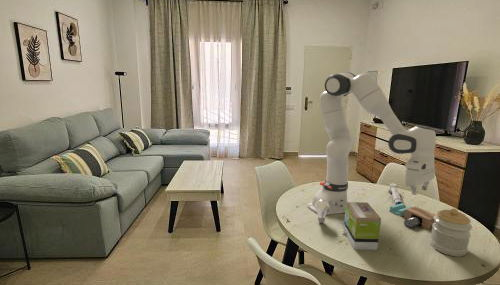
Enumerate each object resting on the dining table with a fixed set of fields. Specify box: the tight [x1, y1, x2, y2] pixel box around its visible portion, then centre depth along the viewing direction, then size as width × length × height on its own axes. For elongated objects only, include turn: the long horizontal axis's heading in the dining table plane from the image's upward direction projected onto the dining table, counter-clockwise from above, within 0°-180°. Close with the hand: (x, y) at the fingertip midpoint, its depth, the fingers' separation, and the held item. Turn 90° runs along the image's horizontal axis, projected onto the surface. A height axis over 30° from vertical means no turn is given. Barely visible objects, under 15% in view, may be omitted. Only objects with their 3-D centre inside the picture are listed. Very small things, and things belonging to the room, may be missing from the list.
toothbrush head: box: [387, 182, 404, 205], centre depth 166 cm, size 5×7×25 cm
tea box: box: [343, 201, 382, 251], centre depth 120 cm, size 15×10×15 cm, turn 178°
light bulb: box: [315, 199, 330, 224], centre depth 135 cm, size 7×7×12 cm
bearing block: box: [403, 205, 437, 231], centre depth 137 cm, size 8×12×5 cm, turn 27°
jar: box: [429, 208, 473, 257], centre depth 115 cm, size 13×13×18 cm
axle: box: [403, 216, 423, 229], centre depth 137 cm, size 16×4×4 cm, turn 117°
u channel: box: [389, 202, 413, 217], centre depth 149 cm, size 10×6×3 cm, turn 117°
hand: (419, 192), depth 126 cm, fingers open, 8 cm apart
